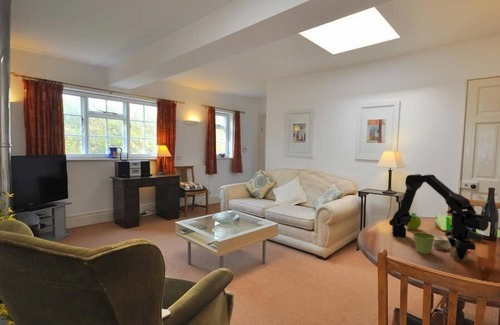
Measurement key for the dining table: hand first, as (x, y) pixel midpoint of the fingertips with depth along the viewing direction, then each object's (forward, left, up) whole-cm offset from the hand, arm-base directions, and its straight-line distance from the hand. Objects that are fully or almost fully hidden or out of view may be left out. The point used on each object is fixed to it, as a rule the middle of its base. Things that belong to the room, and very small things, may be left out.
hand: (458, 256), depth 122 cm
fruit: (-11, +43, -1) cm, 44 cm away
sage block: (+4, +16, -1) cm, 17 cm away
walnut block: (0, 0, -1) cm, 1 cm away
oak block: (-4, +14, -1) cm, 15 cm away
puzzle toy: (+12, +36, -1) cm, 38 cm away
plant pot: (-13, +5, -1) cm, 14 cm away
